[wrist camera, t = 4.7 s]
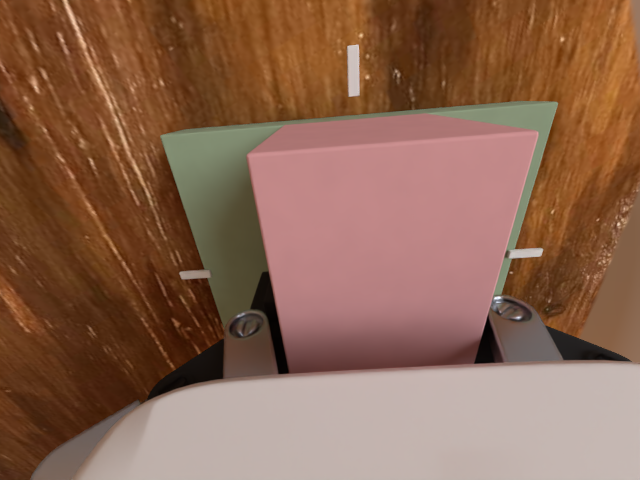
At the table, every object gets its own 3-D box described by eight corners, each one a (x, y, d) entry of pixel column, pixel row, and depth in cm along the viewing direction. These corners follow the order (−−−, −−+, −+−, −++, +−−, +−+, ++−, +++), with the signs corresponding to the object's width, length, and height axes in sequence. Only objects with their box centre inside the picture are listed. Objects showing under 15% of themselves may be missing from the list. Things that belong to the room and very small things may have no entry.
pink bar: (283, 124, 10) (240, 156, 4) (426, 112, 9) (553, 132, 4) (313, 356, 15) (309, 488, 10) (403, 352, 15) (446, 483, 10)
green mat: (566, 34, 10) (625, 19, 8) (479, 343, 18) (499, 373, 16) (139, 74, 11) (99, 69, 9) (233, 356, 18) (223, 386, 16)
